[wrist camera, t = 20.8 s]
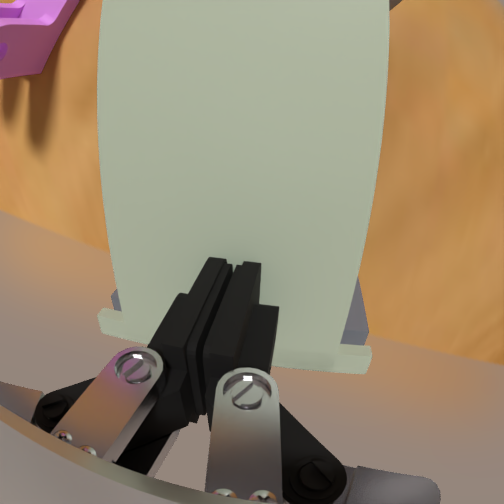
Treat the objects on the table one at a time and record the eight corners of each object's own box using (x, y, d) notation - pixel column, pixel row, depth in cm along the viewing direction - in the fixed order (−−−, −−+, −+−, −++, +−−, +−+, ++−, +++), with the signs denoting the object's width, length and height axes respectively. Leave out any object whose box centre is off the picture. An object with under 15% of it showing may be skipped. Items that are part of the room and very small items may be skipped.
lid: (110, 322, 13) (99, 335, 12) (90, -33, 7) (74, -39, 6) (363, 360, 12) (365, 377, 11) (422, -41, 5) (432, -52, 4)
